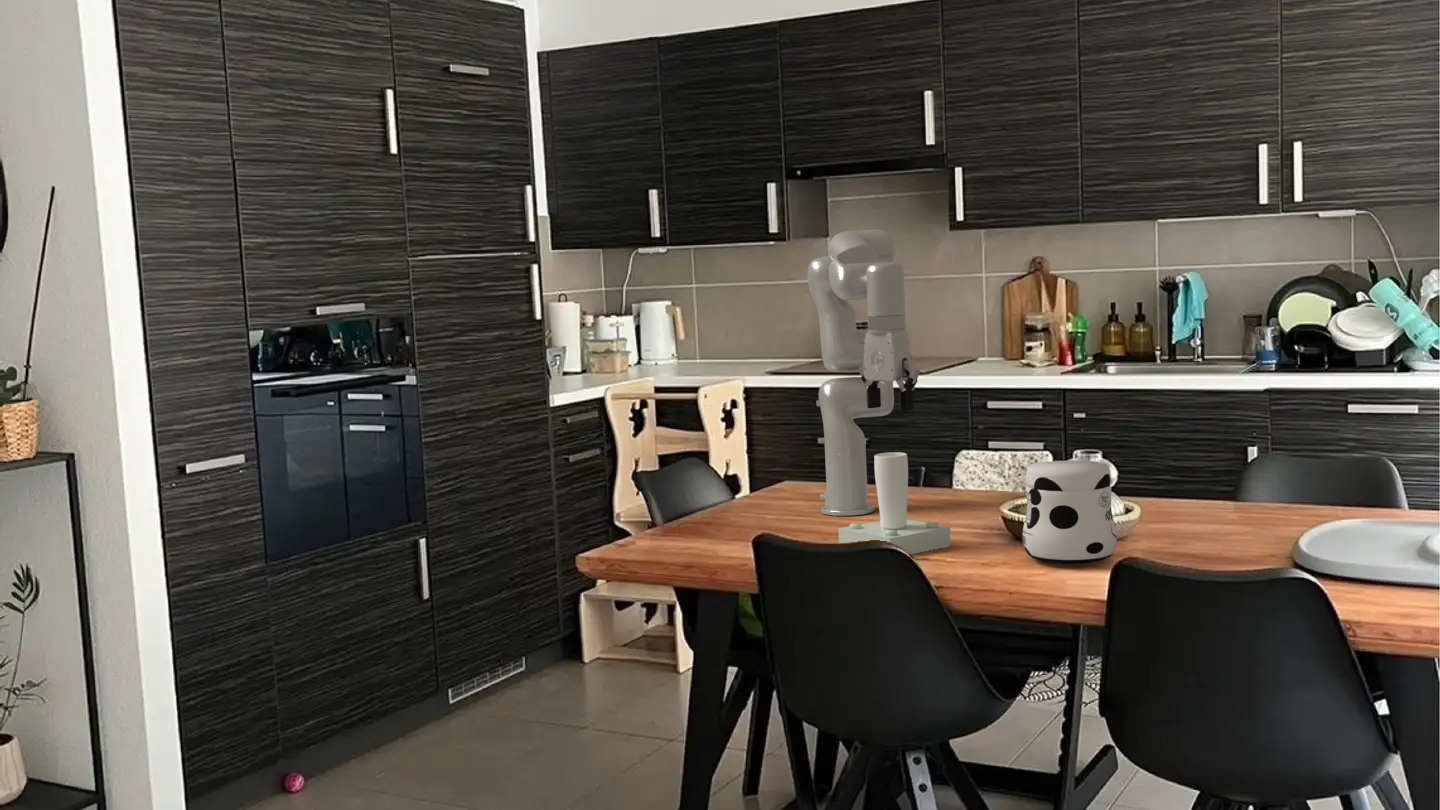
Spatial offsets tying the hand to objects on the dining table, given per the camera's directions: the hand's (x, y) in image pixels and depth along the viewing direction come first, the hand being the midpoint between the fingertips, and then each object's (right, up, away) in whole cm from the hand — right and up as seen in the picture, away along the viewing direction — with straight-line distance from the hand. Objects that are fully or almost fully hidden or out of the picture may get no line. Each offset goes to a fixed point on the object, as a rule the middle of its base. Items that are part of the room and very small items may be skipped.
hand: (889, 409), depth 280 cm
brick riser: (+1, -28, +2) cm, 28 cm away
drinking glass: (+1, -24, +2) cm, 24 cm away
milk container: (+32, -29, -18) cm, 47 cm away
